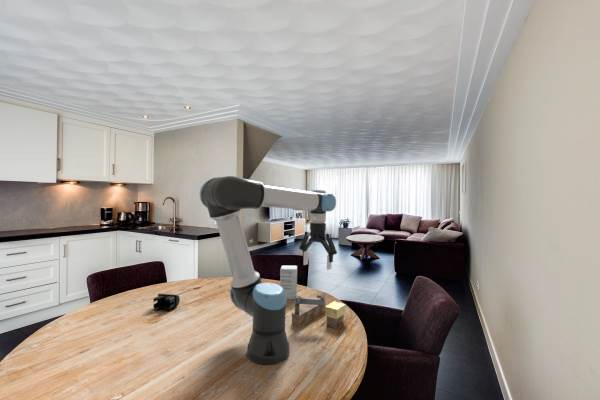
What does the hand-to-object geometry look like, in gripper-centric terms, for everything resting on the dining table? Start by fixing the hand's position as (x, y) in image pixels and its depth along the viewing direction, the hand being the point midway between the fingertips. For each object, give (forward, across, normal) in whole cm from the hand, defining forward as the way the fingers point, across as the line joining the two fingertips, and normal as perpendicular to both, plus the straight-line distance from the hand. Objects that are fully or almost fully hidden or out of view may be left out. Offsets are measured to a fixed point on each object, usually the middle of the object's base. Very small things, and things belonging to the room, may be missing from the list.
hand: (317, 266), depth 133 cm
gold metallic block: (+19, -11, +1) cm, 22 cm away
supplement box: (+23, +27, -11) cm, 37 cm away
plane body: (+23, +1, +4) cm, 24 cm away
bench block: (+23, -12, +1) cm, 26 cm away
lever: (+14, -4, +11) cm, 18 cm away
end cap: (+24, +61, +42) cm, 78 cm away
